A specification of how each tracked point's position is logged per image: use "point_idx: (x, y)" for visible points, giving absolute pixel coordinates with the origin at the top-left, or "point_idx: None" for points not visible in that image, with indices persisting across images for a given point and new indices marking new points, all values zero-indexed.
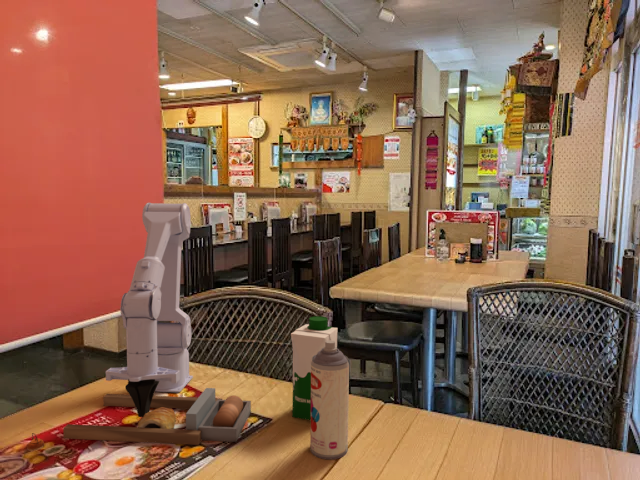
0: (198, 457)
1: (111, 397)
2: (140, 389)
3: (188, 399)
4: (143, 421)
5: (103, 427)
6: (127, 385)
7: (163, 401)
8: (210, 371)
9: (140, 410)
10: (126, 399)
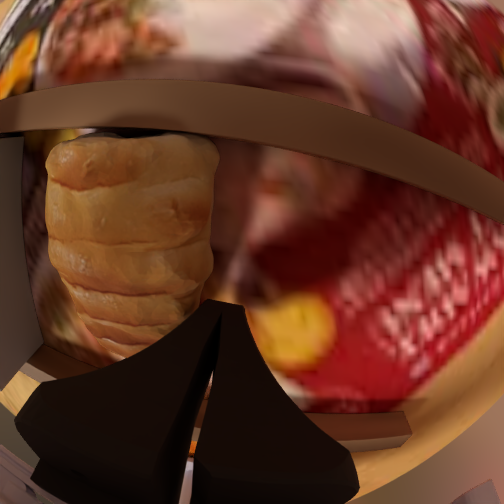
0: (5, 47)
1: (388, 436)
2: (126, 429)
3: None
4: (143, 145)
5: (411, 161)
6: (334, 498)
7: None
8: None
9: (221, 319)
10: (335, 434)
